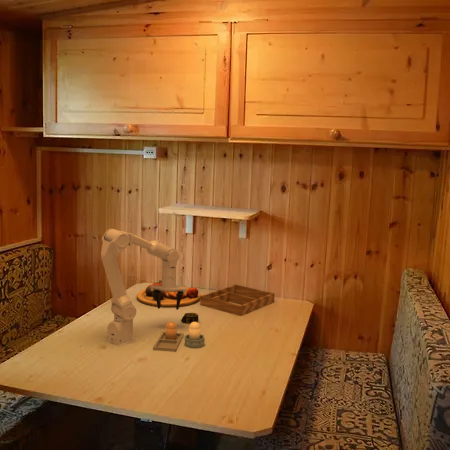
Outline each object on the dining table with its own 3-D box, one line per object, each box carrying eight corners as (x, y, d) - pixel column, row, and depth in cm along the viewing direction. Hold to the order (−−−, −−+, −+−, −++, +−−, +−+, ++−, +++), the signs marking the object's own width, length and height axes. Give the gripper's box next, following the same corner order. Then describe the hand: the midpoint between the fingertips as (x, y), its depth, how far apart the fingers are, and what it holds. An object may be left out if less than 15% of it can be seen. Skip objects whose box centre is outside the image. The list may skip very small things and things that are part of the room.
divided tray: (175, 352, 194) (175, 348, 194) (152, 351, 195) (152, 347, 194) (183, 337, 210) (183, 333, 210) (162, 335, 211) (162, 331, 210)
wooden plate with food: (212, 297, 268) (213, 281, 267) (176, 313, 241) (176, 295, 239) (162, 286, 284) (163, 271, 282) (123, 300, 257) (123, 284, 255)
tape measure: (184, 319, 231) (185, 311, 231) (199, 320, 230) (200, 312, 230) (180, 324, 225) (180, 316, 224) (196, 326, 223) (196, 317, 223)
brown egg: (171, 341, 203) (171, 324, 202) (162, 339, 206) (163, 322, 205) (178, 338, 206) (179, 321, 205) (170, 336, 209) (170, 319, 208)
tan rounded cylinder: (195, 342, 198) (195, 324, 197) (186, 339, 200) (186, 322, 199) (202, 339, 201) (202, 321, 200) (193, 336, 204) (194, 319, 203)
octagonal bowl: (195, 351, 196) (195, 342, 196) (180, 346, 201) (180, 337, 200) (208, 345, 202) (208, 336, 202) (193, 340, 207) (193, 332, 206)
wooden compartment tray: (240, 316, 238) (241, 306, 237) (200, 305, 252) (200, 296, 251) (274, 302, 261) (274, 293, 260) (235, 292, 275) (235, 284, 274)
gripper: (188, 275, 217) (187, 306, 219) (153, 273, 218) (153, 304, 220) (185, 279, 210) (184, 311, 212) (149, 277, 211) (149, 309, 213)
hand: (168, 308), depth 215 cm, fingers open, 7 cm apart
